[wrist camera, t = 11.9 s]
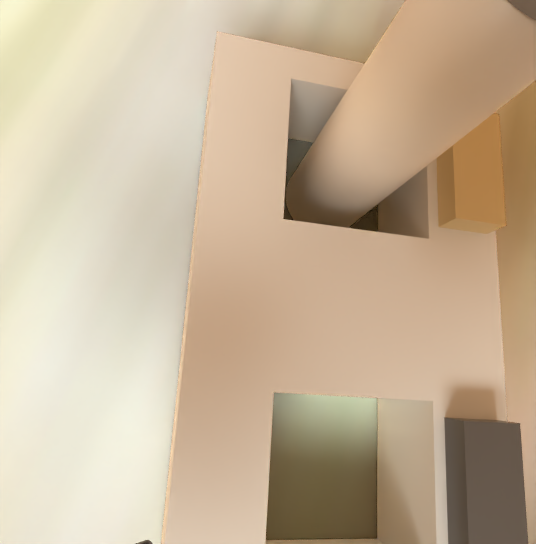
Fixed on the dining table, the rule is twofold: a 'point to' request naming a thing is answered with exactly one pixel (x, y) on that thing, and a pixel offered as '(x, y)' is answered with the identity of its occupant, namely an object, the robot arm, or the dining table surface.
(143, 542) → the robot arm
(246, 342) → the socket board
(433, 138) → the plug
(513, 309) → the dining table surface
